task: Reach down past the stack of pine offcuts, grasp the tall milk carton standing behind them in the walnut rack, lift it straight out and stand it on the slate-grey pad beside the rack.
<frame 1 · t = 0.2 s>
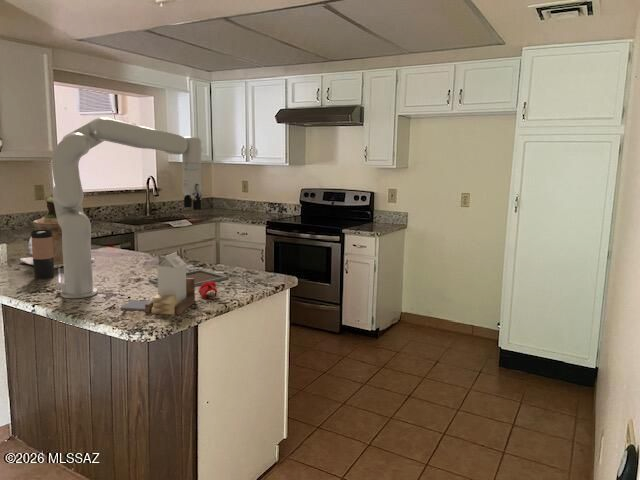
hand: (192, 208, 204), 31 cm above the worktop, tool pointing down, fingers open, 9 cm apart
offcut top: (164, 301, 165), point 4 cm above the worktop, touching offcut mid
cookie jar: (58, 262, 235), on the worktop
offcut low: (165, 313, 166), on the worktop, touching offcut mid
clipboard: (186, 282, 208), on the worktop
travel mug: (44, 277, 206), on the worktop
red rounded piece: (208, 296, 186), on the worktop
offcut mid: (166, 307, 166), point 2 cm above the worktop, touching offcut low, offcut top
rack: (170, 307, 171), on the worktop
pad: (139, 305, 172), on the worktop
milk carton: (172, 306, 173), resting in rack
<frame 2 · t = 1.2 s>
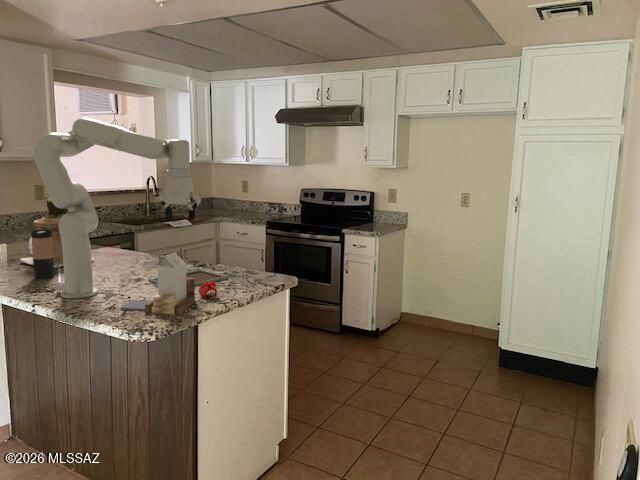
hand: (180, 219, 181), 29 cm above the worktop, tool pointing down, fingers open, 9 cm apart
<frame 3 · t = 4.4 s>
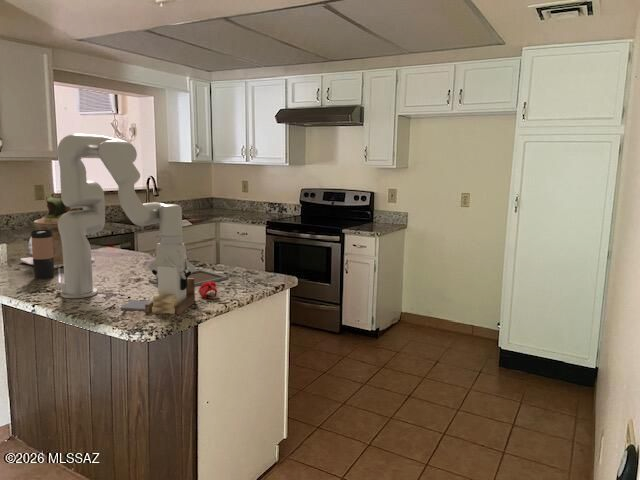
hand: (172, 288, 172), 6 cm above the worktop, tool pointing down, fingers closed on milk carton, 7 cm apart
milk carton: (172, 306, 173), resting in rack, touching gripper
when the fingers open (8 cm above the worktop, at t = 11.0 s): milk carton drops 1 cm, resting on pad.
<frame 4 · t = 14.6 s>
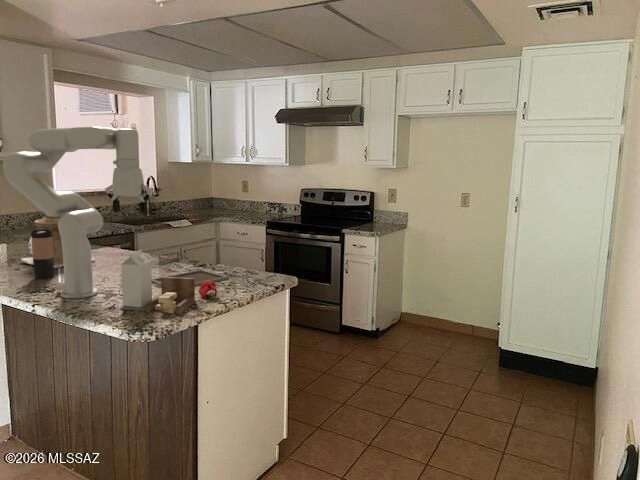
hand: (129, 212, 175), 32 cm above the worktop, tool pointing down, fingers open, 9 cm apart
offcut top: (167, 300, 167), point 4 cm above the worktop, touching offcut mid
offcut low: (168, 311, 168), on the worktop, touching offcut mid
offcut mid: (167, 305, 168), point 2 cm above the worktop, touching offcut low, offcut top
milk carton: (137, 304, 172), resting on pad
everything else where it was.
at the end: milk carton 0.4 cm off-centre on the pad, point 0.4 cm above the pad's base; milk carton tilted 0°; offcut top moved 2.1 cm from its start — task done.
